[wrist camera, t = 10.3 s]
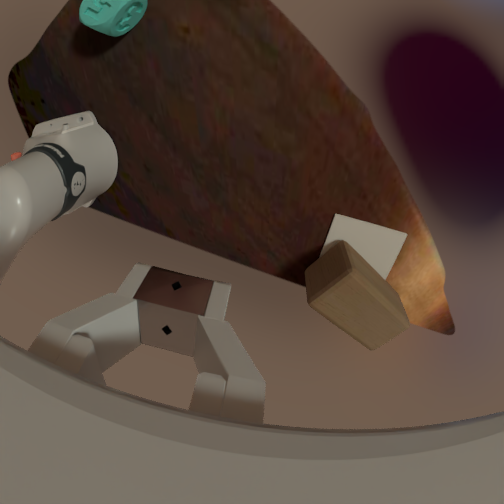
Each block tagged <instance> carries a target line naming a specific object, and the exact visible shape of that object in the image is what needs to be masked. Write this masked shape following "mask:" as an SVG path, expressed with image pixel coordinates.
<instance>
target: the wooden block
mask: <svg viewBox="0 0 504 504" xmlns="http://www.w3.org/2000/svg"><path fill="white" fill-rule="evenodd" d="M305 281H306V292H307V302H308V304H309V306H310V307H311V308H313V309H314V310H315V311H317V312H318V313H320V314H321V315H322V316H324V317H325V318H326V319H328V320H329V321H330V322H332V323H333V324H335V325H336V326H337V327H339V328H340V329H341V330H343V331H344V332H346V333H347V334H348V335H350V336H351V337H352V338H354V339H355V340H357V341H358V342H359V343H361V344H362V345H363V346H365V347H366V348H368V349H369V350H375V349H377V348H378V347H380V346H382V345H383V344H385V343H386V342H388V341H390V340H391V339H393V338H394V337H396V336H397V335H399V334H400V333H402V332H403V331H405V330H406V329H408V328H409V326H410V322H409V319H408V317H407V314H406V312H405V309H404V307H403V304H402V302H401V299H400V297H399V295H398V293H397V292H396V291H395V290H394V289H393V288H392V287H391V286H390V285H389V284H388V283H387V282H386V281H385V280H384V279H383V278H382V276H381V275H380V274H379V273H378V272H377V271H376V270H375V269H374V268H373V267H372V266H371V265H370V264H369V263H368V262H367V261H366V260H365V259H364V258H363V257H362V256H361V255H360V254H359V253H358V252H357V251H356V250H355V249H354V248H352V247H351V246H350V245H349V244H348V243H347V242H346V241H344V240H341V241H339V242H338V243H337V244H335V245H334V246H333V247H332V248H331V249H329V250H328V251H327V252H326V253H325V254H323V255H322V256H321V257H320V258H319V259H317V260H316V261H315V262H314V263H313V264H311V265H310V266H309V267H308V268H307V269H306V270H305Z"/></svg>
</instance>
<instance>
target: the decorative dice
mask: <svg viewBox="0 0 504 504" xmlns="http://www.w3.org/2000/svg"><path fill="white" fill-rule="evenodd" d="M146 8H147V0H83V1H82V4H81V6H80V11H79V19H80V22H81V23H83V24H84V25H86V26H88V27H90V28H92V29H94V30H96V31H99V32H101V33H104V34H106V35H109V36H113V37H117V36H120V35H123V34H125V33H127V32H128V31H130V30H131V29H132V28H133V27H134V26H135V25H136V24H137V23H138V22H139V21H140V19H141V18H142V16H143V15H144V13H145V11H146Z"/></svg>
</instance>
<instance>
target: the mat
mask: <svg viewBox="0 0 504 504" xmlns="http://www.w3.org/2000/svg"><path fill="white" fill-rule="evenodd" d="M406 237H407V234H406V233H403V232H400V231H396V230H393V229H389V228H386V227H383V226H379V225H376V224H372V223H369V222H365V221H361V220H358V219H354V218H350V217H347V216H343V215H339V214H335V216H334V218H333V221H332V224H331V227H330V230H329V232H328V235H327V238H326V241H325V243H324V246H323V249H322V251H321V254H320V257H321V256H322V255H323V254H325V253H326V252H327V251H328V250H329V249H331V248H332V247H333V246H334V245H335V244H337V243H338V242H339V241H341V240H344V241H346V242H347V243H348V244H349V245H350V246H351V247H352V248H354V249H355V250H356V251H357V252H358V253H359V254H360V255H361V256H362V257H363V258H364V259H365V260H366V261H367V262H368V263H369V264H370V265H371V266H372V267H373V268H374V269H375V270H376V271H377V272H378V273H379V274H380V275H381V276H382V278H383V279H384V280H385V279H386V277H387V276H388V274H389V272H390V270H391V268H392V266H393V264H394V262H395V260H396V258H397V256H398V254H399V251H400V249H401V247H402V245H403V243H404V241H405V239H406ZM320 257H319V258H320Z"/></svg>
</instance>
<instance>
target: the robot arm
mask: <svg viewBox="0 0 504 504" xmlns="http://www.w3.org/2000/svg"><path fill="white" fill-rule="evenodd" d="M82 117H83V121H82ZM21 155H22V154H21V152H17V153H13V154H12V155H11V160H12V161H11V162H9V163H7V164H5V165H3V166H1V167H0V285H1V282H2V281H3V279H4V277H5V275H6V273H7V271H8V269H9V268H10V266H11V264H12V263H13V261H14V259H15V258H16V256H17V254H18V253H19V252H20V250H21V249H22V247H23V246H24V245H25V244H26V243H27V241H28V240H29V239H30V238H31V237H32V236H33V235H35V234H36V233H37V232H38V231H39V230H40V229H41V228H43V227H44V226H45V225H46V224H47V223H49V222H50V221H53V220H56V219H57V218H59V217H61V216H63V215H64V214H69V213H71V212H73V211H74V210H76V209H78V208H80V207H81V206H83V207H89V206H90V205H92V203H93V202H94V200H95V199H96V197H97V196H98V195H100V194H102V193H103V192H105V191H106V190H107V189H108V188H109V187H110V186H111V185H112V183H113V181H114V179H115V177H116V173H117V168H118V157H117V152H116V148H115V145H114V143H113V141H112V139H111V137H110V136H109V135H108V133H107V132H106V131H105V130H104V129H103V128H101V127H100V126H99V124H98V123H97V120H96V118H95V116H94V114H93V113H92V112H91V111H85V112H81V113H76V114H72V115H68V116H64V117H60V118H56V119H53V120H49V121H46V122H42V123H39V124H37V125H36V126H35V128H34V131H33V134H32V137H31V138H29V139H28V140H27V141H26V143H25V145H24V150H23V156H22V157H21ZM230 289H231V284H230V283H226V282H220V281H212V280H208V279H203V278H199V277H194V276H190V275H185V274H182V273H178V272H174V271H170V270H166V269H162V268H159V267H155V266H150V265H146V264H142V263H137V264H135V266H134V267H133V268H132V270H131V271H130V273H129V274H128V276H127V277H126V278H125V280H124V281H123V283H122V285H121V286H120V288H119V289H118V290H117V292H116V293H115V294H114V293H109V294H107V295H105V296H102V297H100V298H98V299H96V300H93V301H91V302H89V303H87V304H84V305H82V306H80V307H78V308H75V309H73V310H71V311H69V312H67V313H65V314H62V315H60V316H58V317H56V318H54V319H51V320H49V321H48V322H47V323H46V325H45V326H44V328H43V329H42V330H41V332H40V333H39V334H38V336H37V338H36V339H35V340H34V342H33V343H32V345H31V346H30V348H29V349H28V351H27V350H25V349H23V348H21V347H19V346H17V345H15V344H14V343H12V342H10V341H8V340H7V339H5V338H3V337H1V336H0V504H504V412H499V413H494V414H490V415H486V416H481V417H476V418H471V419H466V420H460V421H454V422H448V423H441V424H434V425H425V426H416V427H404V428H390V429H357V430H356V429H354V430H353V429H317V428H301V427H290V426H279V425H270V424H263V417H264V401H265V384H266V382H265V381H264V379H263V378H262V376H261V374H260V373H259V371H258V370H257V368H256V366H255V365H254V363H253V362H252V360H251V358H250V357H249V355H248V354H247V352H246V350H245V348H244V347H243V345H242V344H241V342H240V340H239V339H238V337H237V335H236V334H235V332H234V330H233V329H232V327H231V325H230V324H229V322H227V321H224V318H225V313H226V308H227V303H228V299H229V294H230ZM141 343H142V344H145V345H149V346H154V347H157V348H162V349H166V350H169V351H173V352H177V353H180V354H184V355H188V356H191V357H194V361H195V364H196V366H197V369H198V372H199V375H198V376H197V380H196V384H195V388H194V391H193V395H192V399H191V403H190V407H189V410H186V409H182V408H177V407H173V406H170V405H166V404H162V403H158V402H155V401H152V400H148V399H145V398H142V397H138V396H135V395H132V394H129V393H126V392H123V391H120V390H117V389H114V388H111V387H108V386H106V383H105V380H104V377H103V375H102V373H103V372H104V371H105V370H107V369H108V368H109V367H111V366H112V365H114V364H115V363H116V362H118V361H119V360H120V359H122V358H123V357H125V356H126V355H127V354H129V353H130V352H132V351H133V350H134V349H135V348H137V347H138V346H140V345H141Z"/></svg>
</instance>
